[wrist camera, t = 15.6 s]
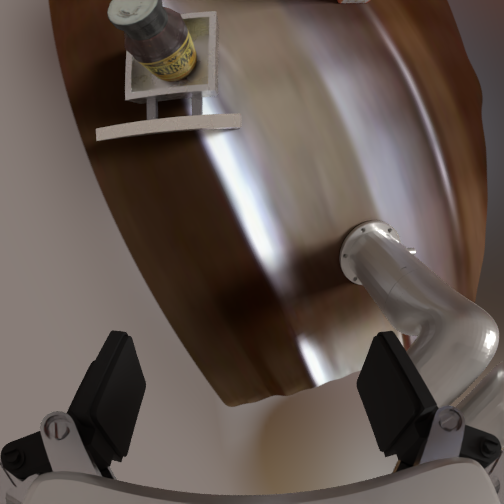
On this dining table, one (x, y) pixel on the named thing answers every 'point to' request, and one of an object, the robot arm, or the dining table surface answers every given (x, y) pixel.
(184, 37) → the sauce bottle
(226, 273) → the dining table surface
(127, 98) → the open square box
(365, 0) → the cracker box
